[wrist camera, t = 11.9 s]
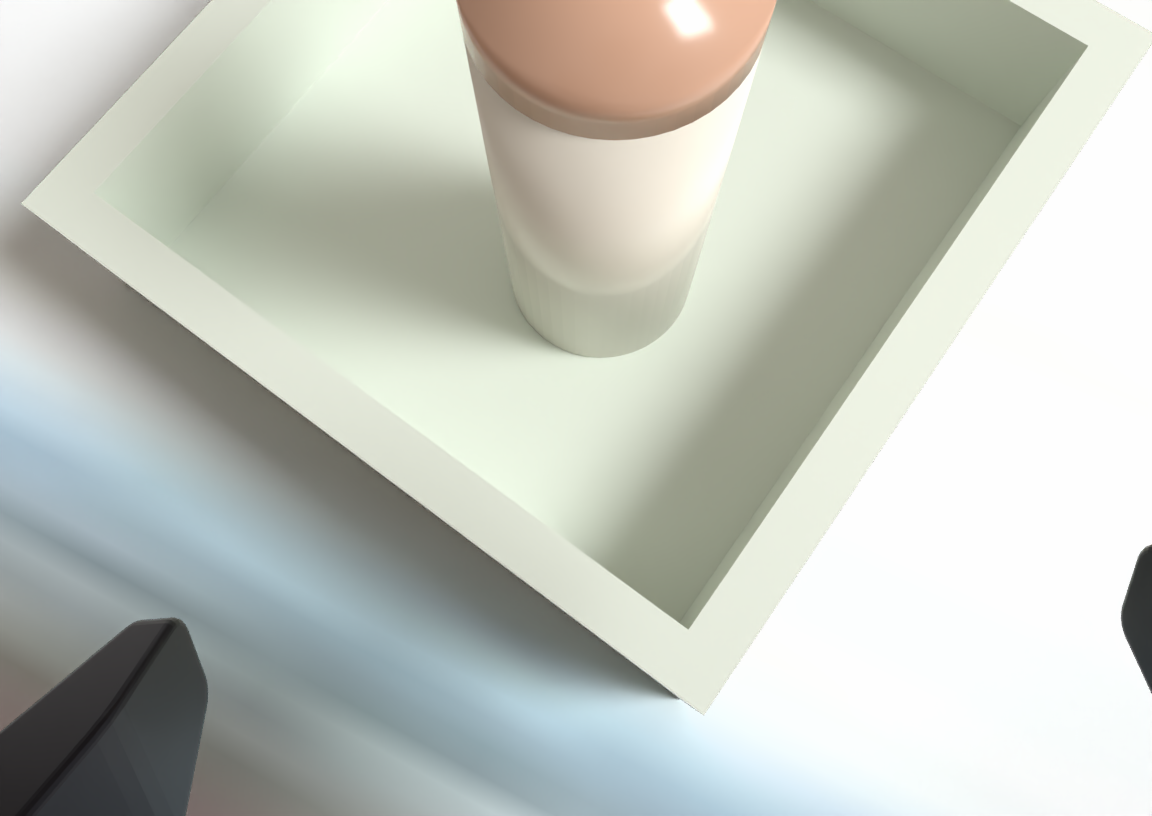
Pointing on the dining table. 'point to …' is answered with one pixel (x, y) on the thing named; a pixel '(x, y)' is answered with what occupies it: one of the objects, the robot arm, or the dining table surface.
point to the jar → (608, 151)
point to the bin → (560, 378)
